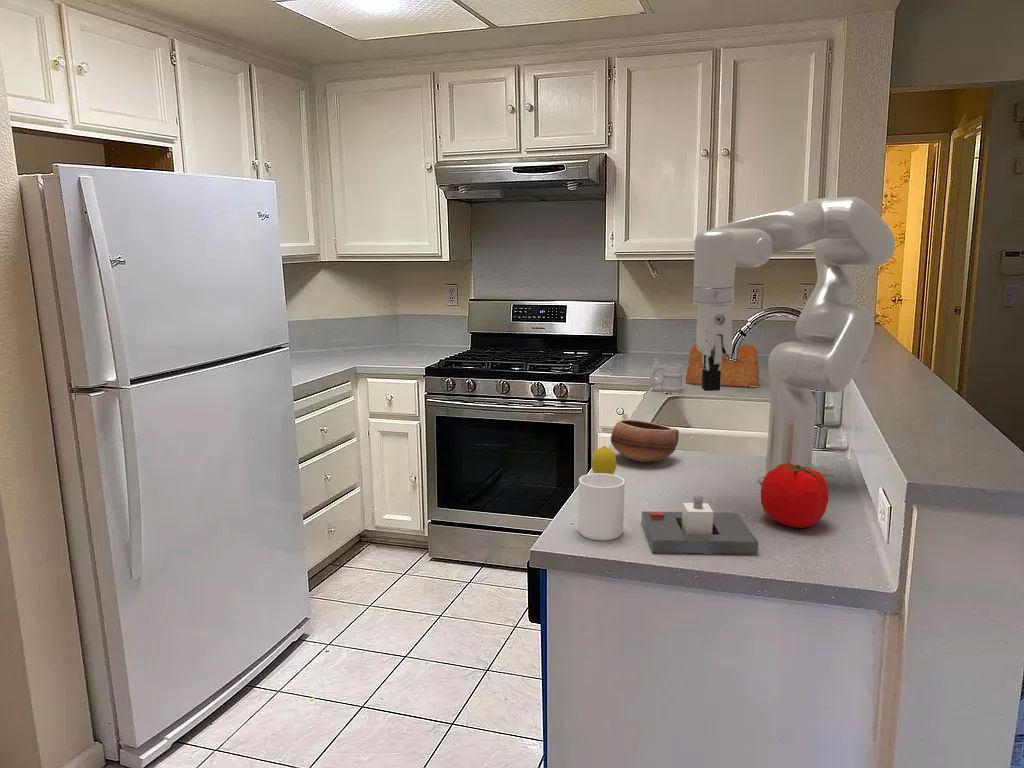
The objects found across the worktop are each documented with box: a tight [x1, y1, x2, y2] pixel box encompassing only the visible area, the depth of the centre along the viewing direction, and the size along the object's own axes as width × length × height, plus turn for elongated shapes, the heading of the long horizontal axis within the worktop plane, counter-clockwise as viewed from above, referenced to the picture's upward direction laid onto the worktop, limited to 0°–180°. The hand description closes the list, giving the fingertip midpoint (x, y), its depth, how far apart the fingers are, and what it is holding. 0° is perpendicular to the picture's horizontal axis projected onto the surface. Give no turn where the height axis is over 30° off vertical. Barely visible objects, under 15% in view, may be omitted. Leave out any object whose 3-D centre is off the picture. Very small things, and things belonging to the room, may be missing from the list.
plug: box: [681, 494, 714, 534], centre depth 136 cm, size 4×4×8 cm
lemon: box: [591, 445, 617, 475], centre depth 169 cm, size 6×6×8 cm
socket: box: [641, 511, 759, 555], centre depth 136 cm, size 18×14×3 cm
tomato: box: [760, 462, 829, 529], centre depth 144 cm, size 12×13×12 cm
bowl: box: [610, 419, 680, 463], centre depth 184 cm, size 16×16×10 cm
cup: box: [577, 472, 626, 542], centre depth 140 cm, size 8×12×10 cm
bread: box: [684, 343, 760, 387], centre depth 284 cm, size 14×27×15 cm, turn 72°
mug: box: [649, 358, 684, 394], centre depth 267 cm, size 8×12×12 cm, turn 78°
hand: (710, 389), depth 148 cm, fingers closed
